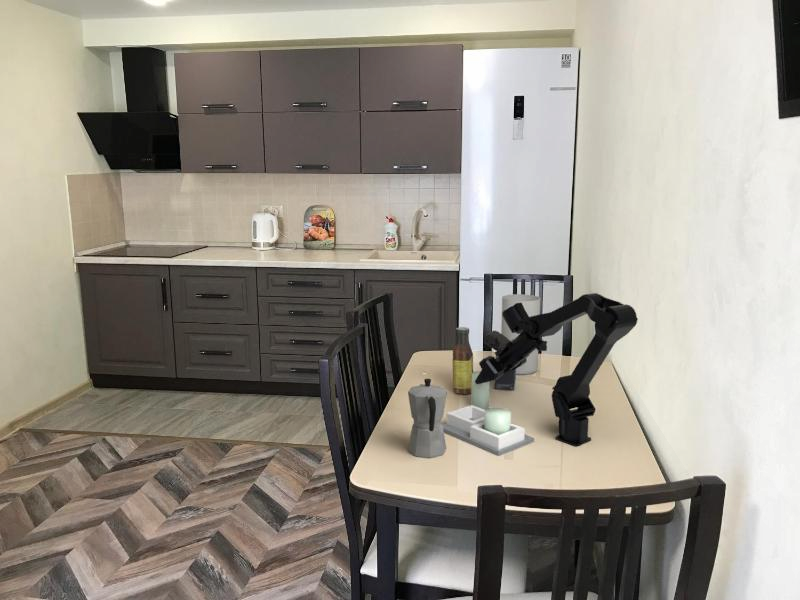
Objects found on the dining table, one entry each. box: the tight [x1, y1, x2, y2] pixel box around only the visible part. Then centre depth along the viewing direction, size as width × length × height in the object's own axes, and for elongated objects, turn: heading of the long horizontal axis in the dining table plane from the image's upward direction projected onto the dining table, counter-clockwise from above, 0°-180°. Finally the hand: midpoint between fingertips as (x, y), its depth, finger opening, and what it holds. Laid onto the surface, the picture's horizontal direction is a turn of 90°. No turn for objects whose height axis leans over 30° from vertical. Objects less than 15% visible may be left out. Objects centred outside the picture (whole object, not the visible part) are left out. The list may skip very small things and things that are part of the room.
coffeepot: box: [407, 378, 448, 459], centre depth 154 cm, size 15×9×18 cm, turn 6°
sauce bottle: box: [452, 326, 474, 395], centre depth 197 cm, size 6×6×20 cm
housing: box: [442, 404, 535, 457], centre depth 165 cm, size 21×13×8 cm, turn 40°
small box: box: [493, 354, 517, 391], centre depth 205 cm, size 11×6×10 cm, turn 168°
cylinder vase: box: [500, 293, 541, 376], centre depth 219 cm, size 12×12×25 cm
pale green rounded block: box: [470, 370, 490, 410], centre depth 185 cm, size 5×5×10 cm
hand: (483, 378), depth 183 cm, fingers open, 9 cm apart
